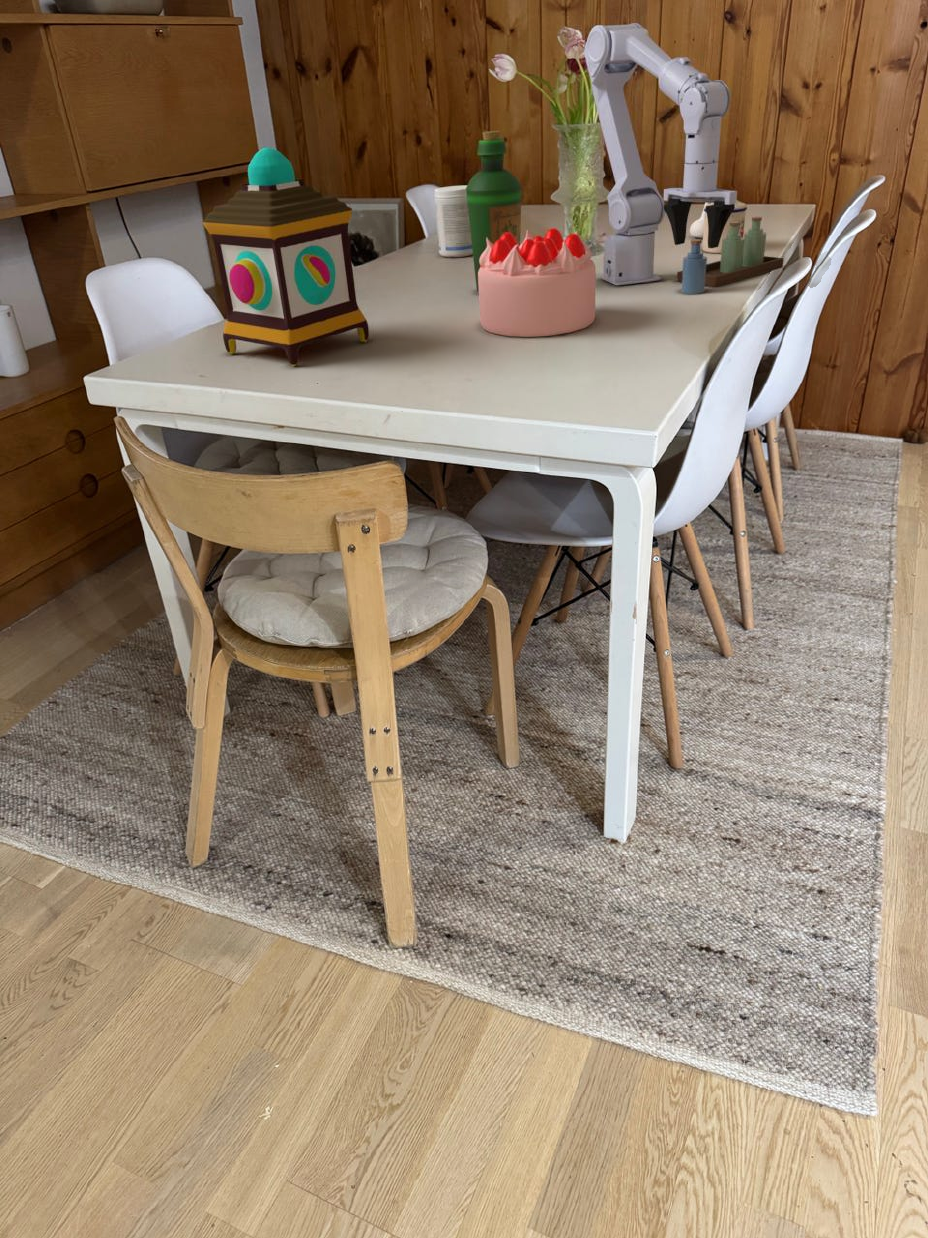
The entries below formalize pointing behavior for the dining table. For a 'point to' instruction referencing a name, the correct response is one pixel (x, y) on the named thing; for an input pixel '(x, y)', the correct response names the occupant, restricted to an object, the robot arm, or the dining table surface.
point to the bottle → (492, 198)
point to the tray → (736, 272)
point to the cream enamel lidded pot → (735, 216)
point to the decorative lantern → (284, 261)
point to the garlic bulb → (698, 226)
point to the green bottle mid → (732, 250)
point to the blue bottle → (694, 270)
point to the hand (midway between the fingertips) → (696, 245)
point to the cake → (536, 285)
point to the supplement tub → (453, 221)
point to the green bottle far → (754, 244)
